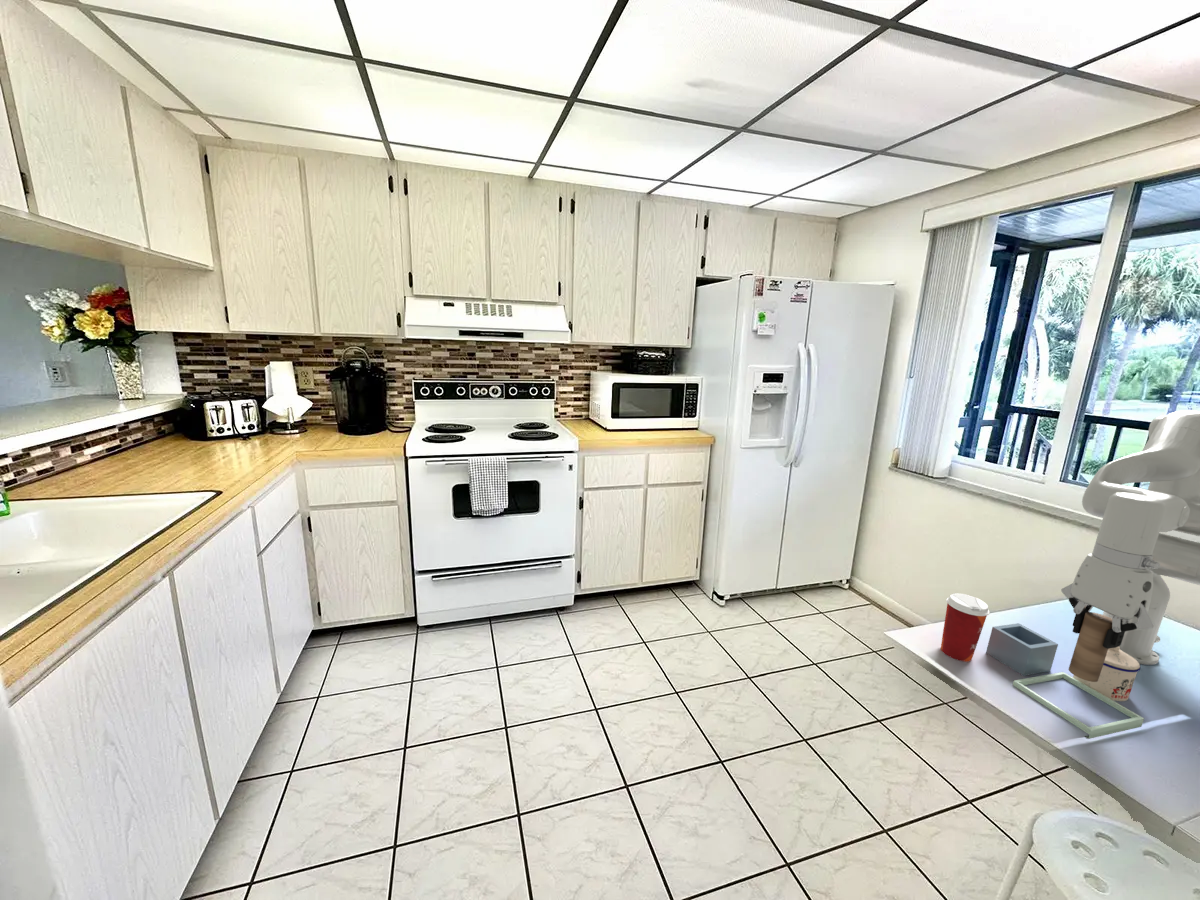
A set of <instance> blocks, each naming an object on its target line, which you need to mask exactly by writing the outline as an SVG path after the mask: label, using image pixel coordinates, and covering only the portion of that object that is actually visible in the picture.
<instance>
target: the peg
mask: <svg viewBox="0 0 1200 900" xmlns="http://www.w3.org/2000/svg"><path fill="white" fill-rule="evenodd" d="M1108 629H1112V619H1111V618H1109V617H1107V616H1104V615H1103V614H1101V613H1098V612H1092V611H1090V612H1086V613H1085V617H1084V620H1083V623H1082V626H1081V630H1080V633H1078V635H1077V636H1078V637H1077V641H1076V644H1075V646H1074V650H1073V653H1072V657H1071V659H1070V663H1069V667H1068V671H1069V672H1070V673H1071V674H1072V675H1075V676H1077V677H1079V678H1081V679H1084V680H1087V681H1091V682H1097V681H1098V679H1099V676H1100V673H1101V670H1102V667H1103V664H1104V661H1105V658H1106V655H1107V651H1108V649H1107V648H1105V647H1103V643H1104V640H1105V636H1106V633H1107V630H1108Z"/></svg>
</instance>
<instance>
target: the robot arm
mask: <svg viewBox="0 0 1200 900" xmlns="http://www.w3.org/2000/svg"><path fill="white" fill-rule="evenodd" d="M1132 483H1149V485H1148V487H1147V488H1141V487H1136V486H1132V485H1131V486H1130V485H1126V484H1132ZM1081 505H1082V507H1083V510H1084V511H1085V512H1087V514H1089V515H1092V516H1095V517H1097V518H1101V519H1102V520H1101V523H1100V527H1099V530H1098V532H1097V536H1096V540H1095V542H1094V547H1093V549H1092V553H1088V554H1087V555H1086V557H1085V558H1084V559H1083V560H1082V563H1081V564H1080V566H1079V569H1078V570H1077V572H1076V575H1075V577H1074V580H1073V583H1071V584H1067V585H1066V586H1064V587H1063V588H1061V593H1062V594H1063V595H1064V596H1065V598H1066V599H1068V602H1069V603H1070V605H1071V606H1072V608H1073V610H1072V611H1073V613H1074V614H1075V615H1074V618H1073V623H1072V626H1073V628H1072V632H1073V633H1074V634H1079V633H1080V630H1081V626H1082V623H1083V620H1084V617H1085V613H1086V612H1091V611H1092V609H1093V608H1096V609H1098V610H1100V611H1102V615H1104V616H1107V617H1109V618H1111V619H1112V629H1108V630H1107V633H1106V636H1105V640H1104V643H1103V647H1105V648H1107V649H1110V648H1116V647H1120V650H1122V651H1123V652H1125V653H1126V654H1128V655H1130V656H1132V657H1133V658H1134V659H1136V660H1137V661H1138V663H1139V665H1148V666H1151V665H1156V664H1158V663H1159V662H1160V656H1159V654H1157V653H1156V652H1155V651H1154V650H1153V647H1154V645H1155V643H1160V642H1161V637H1160V636H1159V635H1158V634H1159V630H1160V628H1161V624H1162V621H1163V618H1164V615H1165V613H1166V609H1167V607H1168V604H1169V601H1170V598H1171V592H1170V588H1169V586H1168V584H1167V583H1166V582H1165V580H1164V579H1163V577H1168V578H1172V579H1175V580H1179V581H1183V582H1186V583H1189V584H1193V585H1197V586H1200V542H1198V541H1193V540H1189V539H1185V538H1181V537H1178V536H1175V535H1170V534H1165V533H1167V532H1172V531H1173V532H1174V531H1175V532H1179V533H1184V534H1188V535H1192V536H1196V537H1200V410H1199V411H1198V410H1178V411H1174V412H1170V413H1167V414H1165V415H1160V416H1157V417H1155V418H1153V419H1152V420H1151V422H1150V423H1149V427H1148V440H1147V442H1146V443H1145V445H1144V446H1143V449H1142V450H1141V451H1140V452H1136V453H1131V454H1129V455H1126V456H1122V457H1120V458H1117V459H1115V460H1112V461H1109V462H1107V463H1106V464H1104V465H1103V466H1101V467H1100V468H1099V469H1098V471H1097V472H1096V473H1095V474H1094V476H1093V477H1092V478H1091V480H1090V482H1089V484H1088V486H1087V487H1086V489H1085V490H1084V493H1083V496H1082V501H1081ZM1162 576H1163V577H1162Z"/></svg>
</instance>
